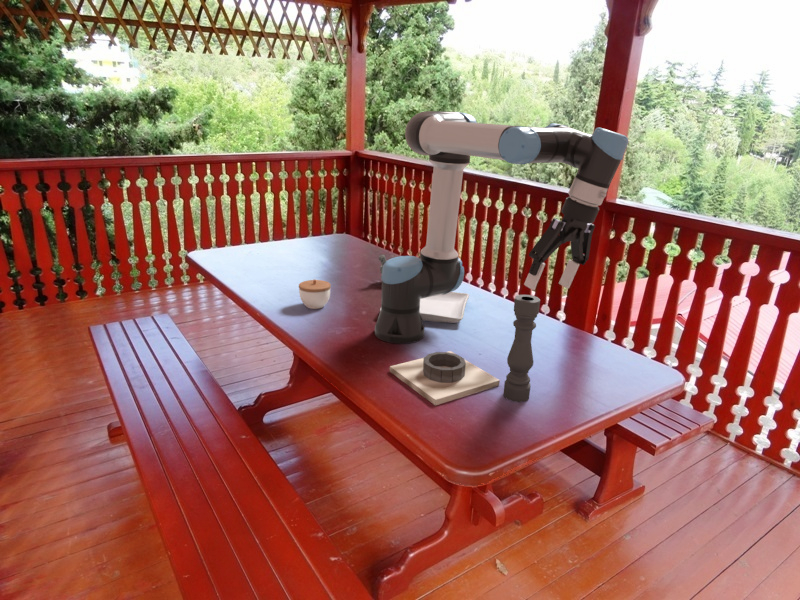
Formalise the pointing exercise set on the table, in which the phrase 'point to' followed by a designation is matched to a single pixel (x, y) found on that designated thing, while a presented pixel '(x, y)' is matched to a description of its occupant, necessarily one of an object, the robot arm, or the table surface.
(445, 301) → the square plate
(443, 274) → the robot arm
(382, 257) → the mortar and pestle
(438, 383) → the socket board
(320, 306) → the lidded jar
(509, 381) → the candle holder
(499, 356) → the table surface
